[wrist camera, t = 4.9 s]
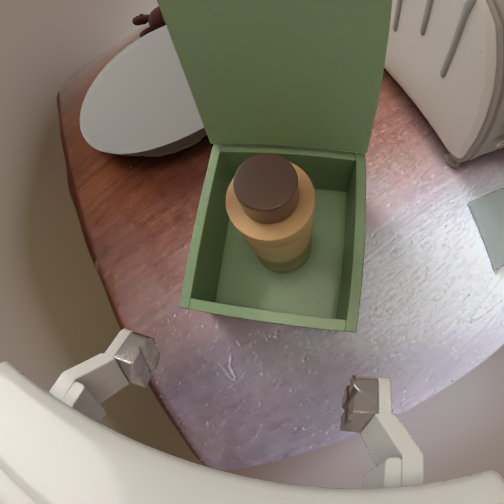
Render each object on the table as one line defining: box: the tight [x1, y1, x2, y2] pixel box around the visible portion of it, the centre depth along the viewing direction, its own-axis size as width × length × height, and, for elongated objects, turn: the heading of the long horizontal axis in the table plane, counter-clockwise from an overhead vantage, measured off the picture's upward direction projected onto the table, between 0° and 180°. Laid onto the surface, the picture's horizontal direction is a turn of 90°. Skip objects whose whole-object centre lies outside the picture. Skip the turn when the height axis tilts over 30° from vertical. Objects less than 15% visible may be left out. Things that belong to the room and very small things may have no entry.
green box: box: [180, 144, 366, 332], centre depth 24 cm, size 14×13×7 cm
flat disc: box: [80, 25, 207, 157], centre depth 33 cm, size 28×28×4 cm
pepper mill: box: [226, 153, 315, 273], centre depth 20 cm, size 5×5×13 cm
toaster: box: [384, 0, 504, 168], centre depth 19 cm, size 21×45×22 cm, turn 19°
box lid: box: [157, 0, 392, 153], centre depth 16 cm, size 14×13×5 cm
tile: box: [468, 188, 504, 271], centre depth 23 cm, size 8×8×1 cm
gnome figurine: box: [133, 6, 166, 38], centre depth 37 cm, size 7×7×15 cm
